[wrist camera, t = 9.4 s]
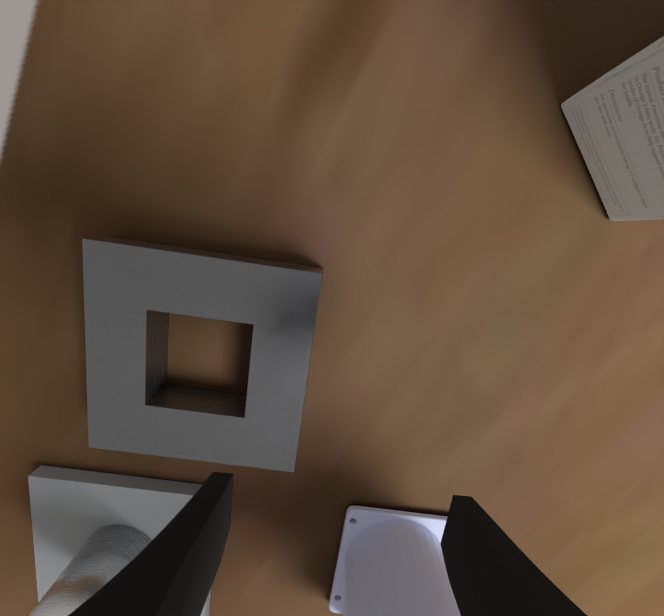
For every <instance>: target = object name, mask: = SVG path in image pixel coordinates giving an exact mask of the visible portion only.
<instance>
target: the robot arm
mask: <svg viewBox="0 0 664 616" xmlns="http://www.w3.org/2000/svg"><path fill="white" fill-rule="evenodd" d="M232 489H233V474H230V473H219V472H214V473H212V474H211V475H210V476H209V477H208V479H207V480H206V481H205V482H204V484H203V485H202V486H201V487H200V488H199V490H198V491H197V492H196V493H195V494H194V496H193V497H192V498H191V499H190V500H189V501H188V502H187V504H186V505H185V506H184V507H183V508H182V509H181V510H180V511H179V512H178V514H177V515H176V516H175V517H174V518H173V519H172V520H171V521H170V522H169V523H168V524H167V525H166V527H165V528H164V529H163V530H162V531H161V532H160V533H159V534H158V535H157V536H156V537H155V538H154V539H153V540H152V541H151V542H150V543H149V544H148V545H147V546H146V547H145V548H144V549H143V550H142V551H141V552H140V553H139V554H138V555H137V556H136V557H135V558H134V559H133V560H132V561H130V562H129V563H128V564H127V565H126V566H125V567H124V568H123V569H122V570H121V571H120V572H119V573H117V574H116V575H115V576H114V577H113V578H112V579H111V580H110V581H108V582H107V583H106V584H105V585H104V586H103V587H102V588H100V589H99V590H98V591H97V592H96V593H95V594H94V595H92V596H91V597H90V598H89V599H87V600H86V601H85V602H84V603H83V604H81V605H80V606H79V607H78V608H77V609H75V610H74V611H73V612H72V613H70V614H69V615H68V616H201V613H202V610H203V607H204V605H205V602H206V599H207V597H208V594H209V591H210V589H211V586H212V583H213V581H214V578H215V575H216V572H217V570H218V567H219V564H220V561H221V558H222V554H223V551H224V547H225V543H226V539H227V536H228V532H229V528H230V523H231V506H232ZM352 518H354V520H351V519H352ZM329 609H330V610H331V611H332V612H335V613H342V616H587V615H586V614H585V613H584V612H583V611H582V610H580V609H579V608H578V607H577V606H576V605H575V604H574V603H573V602H572V601H571V600H570V599H569V598H568V597H567V596H566V595H565V594H564V593H563V592H562V591H561V590H559V589H558V588H557V587H556V586H555V585H554V584H553V583H552V582H551V581H550V580H549V579H548V578H547V577H546V576H545V575H544V574H543V573H542V572H541V571H540V570H539V569H538V568H537V567H536V566H535V565H534V564H533V562H532V561H531V560H530V559H529V558H528V557H527V556H526V555H525V554H524V553H523V552H522V551H521V550H520V549H519V548H518V547H517V546H516V545H515V543H514V542H513V541H512V540H511V539H510V538H509V537H508V536H507V535H506V534H505V533H504V532H503V530H502V529H501V528H500V527H499V526H498V525H497V524H496V523H495V522H494V521H493V519H492V518H491V517H490V516H489V515H488V514H487V513H486V512H485V511H484V510H483V509H482V507H481V506H480V505H479V504H478V503H477V502H476V501H475V500H474V499H473V498H472V497H468V496H458V495H453V498H452V502H451V505H450V509H449V513H448V517H447V516H439V515H431V514H422V513H414V512H405V511H397V510H388V509H380V508H372V507H363V506H350V507H349V508H348V509H347V511H346V517H345V522H344V527H343V532H342V538H341V543H340V548H339V553H338V558H337V564H336V569H335V574H334V579H333V585H332V590H331V595H330V600H329Z"/></svg>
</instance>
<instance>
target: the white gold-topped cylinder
mask: <svg viewBox="0 0 664 616" xmlns="http://www.w3.org/2000/svg"><path fill="white" fill-rule="evenodd" d="M151 541H152V539H151V538H150V537H149V536H148V535H146V534H145V533H144V532H142V531H140V530H138V529H136V528H134V527H131V526H127V525H117V524H115V525H108V526H104V527H101V528H99V529H97V530H96V531H94V532H93V533H92V534H91V535H90V537H89V538H88V539H87V540H86V542H85V543H84V544H83V546H82V547H81V548H80V550H79V551H78V552H77V553H76V555H75V556H74V557H73V559H72V560H71V561H70V563H69V564H68V565H67V566H66V568H65V569H64V570H63V572H62V573H61V574H60V575H59V577H58V578H57V579H56V581H55V582H54V583H53V585H52V586H51V587H50V588H49V590H48V591H47V592H46V594H45V595H44V596H43V597H42V599H41V600H40V601H39V603H38V604H37V605H36V607H35V608H34V609H33V610H32V612H31V613H30V614H29V616H68V615H69V614H70V613H72V612H73V611H74V610H75V609H77V608H78V607H79V606H80V605H81V604H83V603H84V602H85V601H86V600H87V599H89V598H90V597H91V596H92V595H94V594H95V593H96V592H97V591H98V590H99V589H100V588H102V587H103V586H104V585H105V584H106V583H107V582H108V581H110V580H111V579H112V578H113V577H114V576H115V575H116V574H117V573H119V572H120V571H121V570H122V569H123V568H124V567H125V566H126V565H127V564H128V563H129V562H130V561H132V560H133V559H134V558H135V557H136V556H137V555H138V554H139V553H140V552H141V551H142V550H143V549H144V548H145V547H146V546H147V545H148V544H149V543H150V542H151Z"/></svg>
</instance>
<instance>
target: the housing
mask: <svg viewBox="0 0 664 616" xmlns="http://www.w3.org/2000/svg"><path fill="white" fill-rule="evenodd" d="M82 249H83V282H84V314H85V347H86V380H87V412H88V445H89V447H90V448H98V449H106V450H115V451H123V452H131V453H139V454H147V455H156V456H164V457H172V458H180V459H188V460H197V461H205V462H213V463H221V464H229V465H238V466H246V467H254V468H262V469H270V470H279V471H287V472H294V468H295V462H296V455H297V448H298V441H299V434H300V427H301V420H302V413H303V406H304V399H305V392H306V385H307V377H308V370H309V363H310V356H311V349H312V342H313V335H314V328H315V321H316V314H317V307H318V300H319V292H320V285H321V278H322V271H323V268H321V267H314V266H307V265H301V264H294V263H287V262H280V261H273V260H267V259H260V258H253V257H246V256H239V255H233V254H226V253H219V252H212V251H205V250H199V249H192V248H185V247H178V246H171V245H165V244H158V243H151V242H144V241H137V240H130V239H124V238H117V237H106V238H84V239H82ZM169 313H174V314H182V315H189V316H196V317H203V318H210V319H218V320H225V321H232V322H239V323H246V324H254V325H253V336H252V346H251V357H250V367H249V378H248V388H247V395H242V394H234V393H226V392H219V391H211V390H203V389H196V388H188V387H180V386H173V385H166V383H167V352H168V320H169Z"/></svg>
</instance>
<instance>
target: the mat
mask: <svg viewBox="0 0 664 616" xmlns="http://www.w3.org/2000/svg"><path fill="white" fill-rule="evenodd" d="M28 482H29V494H30V506H31V518H32V531H33V543H34V555H35V567H36V579H37V591H38V603H39V601H40V600H41V599H42V597H43V596H44V595H45V594H46V592H47V591H48V590H49V588H50V587H51V586H52V585H53V583H54V582H55V581H56V579H57V578H58V577H59V575H60V574H61V573H62V572H63V570H64V569H65V568H66V566H67V565H68V564H69V563H70V561H71V560H72V559H73V557H74V556H75V555H76V553H77V552H78V551H79V550H80V548H81V547H82V546H83V544H84V543H85V542H86V540H87V539H88V538H89V537H90V535H91V534H92V533H93V532H94V531H96V530H97V529H99V528H101V527H104V526H108V525H115V524H117V525H127V526H131V527H134V528H136V529H138V530H140V531H142V532H144V533H145V534H146V535H148V536H149V537H150V538H151V539H152V540H153V539H154V538H155V537H156V536H157V535H158V534H159V533H160V532H161V531H162V530H163V529H164V528H165V527H166V525H167V524H168V523H169V522H170V521H171V520H172V519H173V518H174V517H175V516H176V515H177V514H178V512H179V511H180V510H181V509H182V508H183V507H184V506H185V505H186V504H187V502H188V501H189V500H190V499H191V498H192V497H193V496H194V494H195V493H196V492H197V491H198V490H199V488H200V487H201V486H202V485H203V484H194V483H186V482H178V481H169V480H161V479H152V478H144V477H136V476H127V475H119V474H110V473H102V472H94V471H85V470H77V469H68V468H60V467H52V466H43V465H41V466H40V467H38V468H37V469H36V470H35V471H34V472H32V473H31V474H30V475H29V476H28ZM210 594H211V589H210V591H209V594H208V597H207V599H206V602H205V605H204V607H203V610H202V613H201V616H209V606H210Z"/></svg>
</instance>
